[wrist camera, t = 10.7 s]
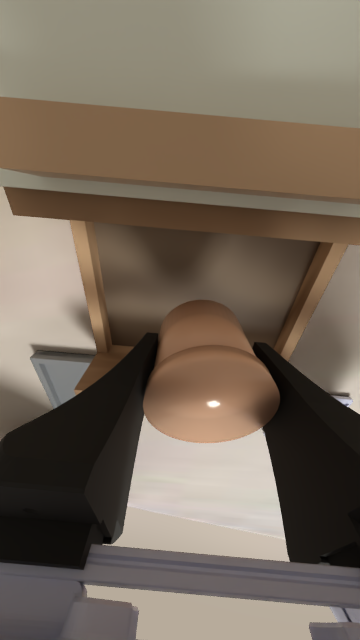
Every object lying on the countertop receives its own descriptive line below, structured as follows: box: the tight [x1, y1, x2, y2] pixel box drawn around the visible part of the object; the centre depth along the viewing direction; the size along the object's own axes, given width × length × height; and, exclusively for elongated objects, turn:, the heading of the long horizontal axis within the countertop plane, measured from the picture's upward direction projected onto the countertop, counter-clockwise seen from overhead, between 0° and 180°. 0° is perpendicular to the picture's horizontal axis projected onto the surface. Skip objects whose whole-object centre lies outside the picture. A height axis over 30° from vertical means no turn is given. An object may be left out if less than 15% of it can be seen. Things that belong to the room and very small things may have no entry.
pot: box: [143, 300, 280, 443], centre depth 10 cm, size 5×5×5 cm
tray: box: [30, 351, 95, 409], centre depth 23 cm, size 10×10×1 cm
